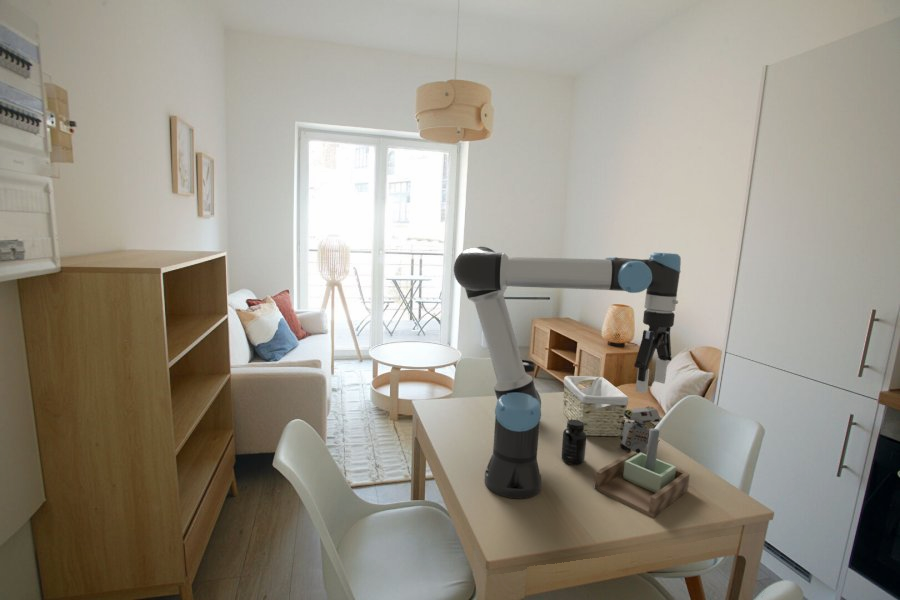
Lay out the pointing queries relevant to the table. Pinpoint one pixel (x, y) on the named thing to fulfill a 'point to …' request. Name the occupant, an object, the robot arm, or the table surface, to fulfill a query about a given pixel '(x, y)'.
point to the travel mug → (529, 367)
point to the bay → (639, 488)
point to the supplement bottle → (574, 443)
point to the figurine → (637, 428)
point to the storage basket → (594, 405)
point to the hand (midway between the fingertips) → (650, 387)
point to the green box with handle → (649, 467)
